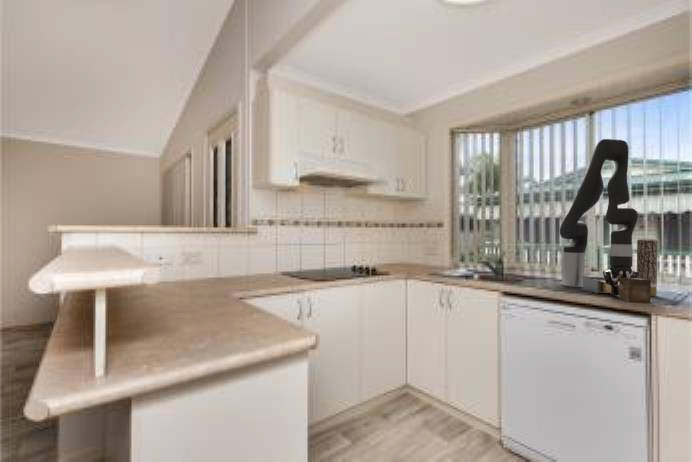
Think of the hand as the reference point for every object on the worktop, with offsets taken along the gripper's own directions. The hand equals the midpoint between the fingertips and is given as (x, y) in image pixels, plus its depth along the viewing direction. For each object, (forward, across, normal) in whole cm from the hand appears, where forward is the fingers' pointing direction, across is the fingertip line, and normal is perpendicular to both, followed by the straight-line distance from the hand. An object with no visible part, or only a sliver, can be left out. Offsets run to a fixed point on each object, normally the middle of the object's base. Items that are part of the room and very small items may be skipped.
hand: (620, 295), depth 144 cm
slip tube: (0, 0, -2) cm, 2 cm away
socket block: (+1, 0, +7) cm, 7 cm away
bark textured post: (+1, -17, -7) cm, 18 cm away
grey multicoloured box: (+1, 0, -13) cm, 13 cm away
